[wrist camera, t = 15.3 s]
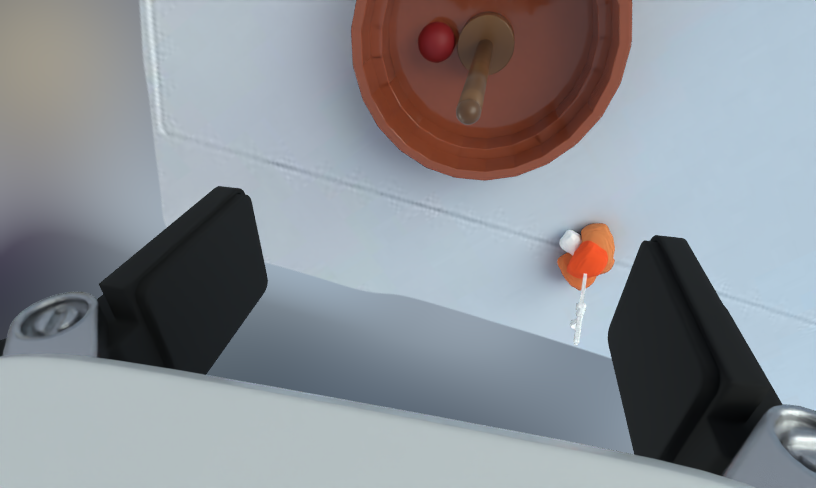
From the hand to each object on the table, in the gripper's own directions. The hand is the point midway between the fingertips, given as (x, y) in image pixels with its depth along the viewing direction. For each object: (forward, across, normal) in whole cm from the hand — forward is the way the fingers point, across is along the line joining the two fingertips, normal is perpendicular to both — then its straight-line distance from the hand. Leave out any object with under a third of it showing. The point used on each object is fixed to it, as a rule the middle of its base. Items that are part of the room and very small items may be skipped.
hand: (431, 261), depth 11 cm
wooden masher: (+31, 0, 0) cm, 31 cm away
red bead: (+30, +4, 0) cm, 30 cm away
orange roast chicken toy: (+32, -12, +20) cm, 40 cm away
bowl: (+32, 0, 0) cm, 32 cm away
